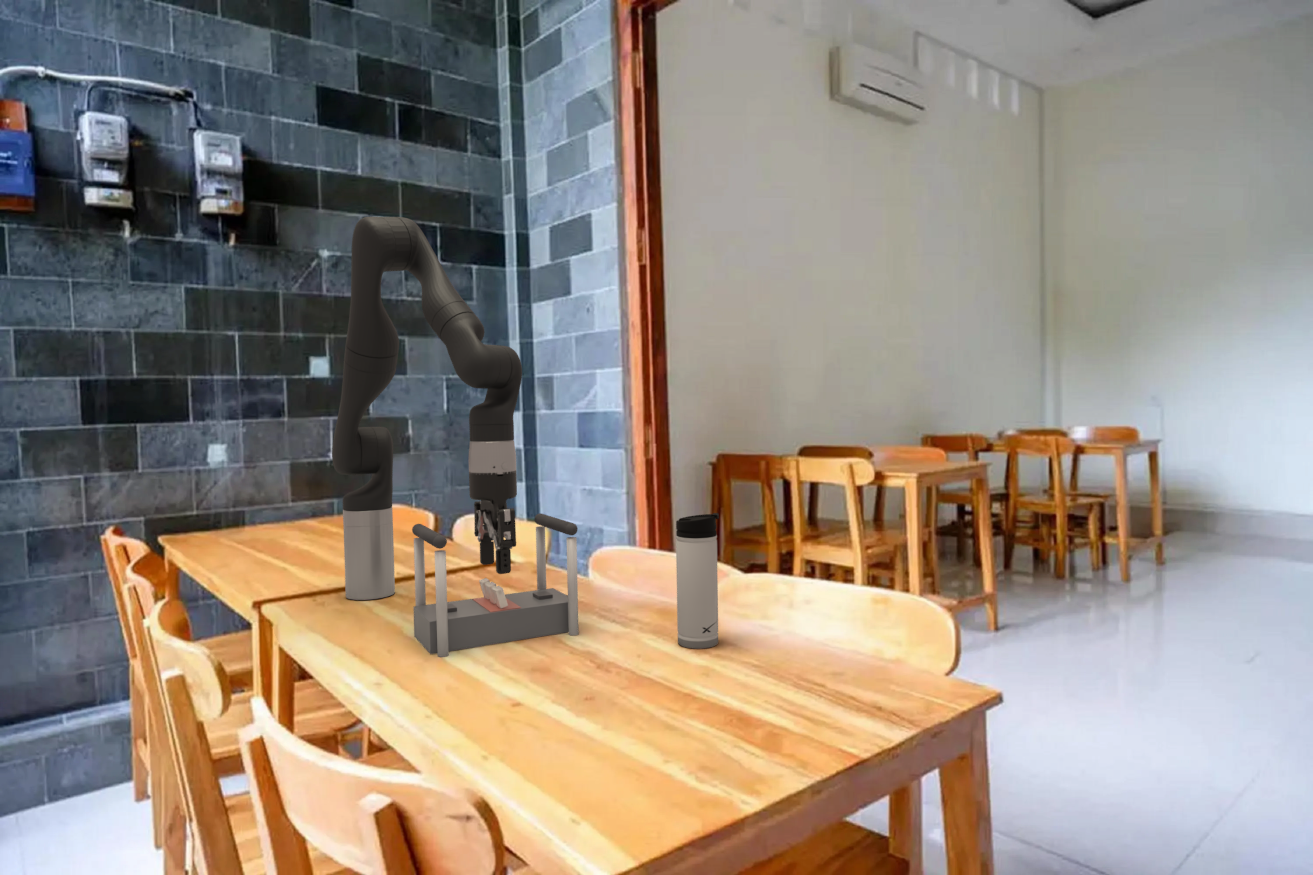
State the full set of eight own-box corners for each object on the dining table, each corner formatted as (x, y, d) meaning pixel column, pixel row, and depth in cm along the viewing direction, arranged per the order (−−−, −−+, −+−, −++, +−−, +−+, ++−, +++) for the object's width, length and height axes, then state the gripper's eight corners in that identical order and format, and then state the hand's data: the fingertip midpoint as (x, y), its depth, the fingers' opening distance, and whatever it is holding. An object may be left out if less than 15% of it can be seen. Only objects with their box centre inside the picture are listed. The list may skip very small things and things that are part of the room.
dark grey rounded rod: (411, 535, 133) (410, 523, 133) (423, 534, 134) (423, 522, 134) (434, 550, 119) (434, 536, 119) (448, 548, 120) (448, 535, 120)
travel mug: (717, 650, 122) (716, 516, 121) (674, 648, 123) (672, 516, 122) (723, 638, 128) (721, 511, 127) (681, 636, 129) (679, 510, 128)
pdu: (411, 633, 134) (408, 538, 133) (548, 612, 145) (546, 525, 145) (434, 658, 120) (431, 552, 119) (584, 633, 132) (582, 537, 131)
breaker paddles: (483, 597, 136) (478, 580, 136) (490, 594, 137) (485, 577, 136) (500, 608, 128) (495, 590, 128) (507, 605, 129) (502, 587, 128)
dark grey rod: (532, 524, 144) (532, 513, 143) (543, 523, 144) (543, 512, 144) (568, 536, 129) (567, 524, 129) (579, 535, 130) (579, 523, 130)
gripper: (457, 467, 136) (460, 564, 137) (482, 473, 123) (485, 579, 124) (501, 465, 140) (503, 559, 140) (530, 470, 127) (532, 573, 128)
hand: (495, 568), depth 132 cm, fingers open, 8 cm apart
